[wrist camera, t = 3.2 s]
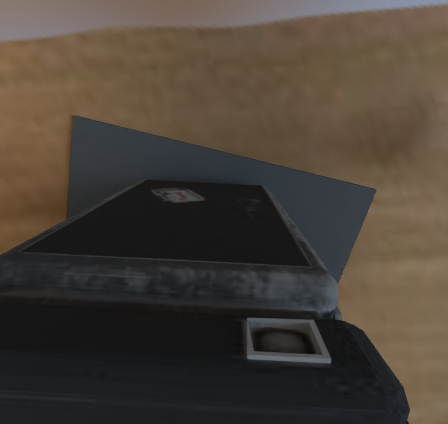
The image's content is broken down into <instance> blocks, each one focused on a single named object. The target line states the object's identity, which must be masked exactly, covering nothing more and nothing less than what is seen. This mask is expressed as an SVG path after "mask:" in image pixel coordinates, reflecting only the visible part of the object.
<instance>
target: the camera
mask: <svg viewBox="0 0 448 424" xmlns="http://www.w3.org/2000/svg"><path fill="white" fill-rule="evenodd" d="M337 299H338V284H337V282H336V281H335V279H334V277H333V276H332V275H331V273H330V272H329V270H328V269H327V268H326V266H325V265H324V263H323V262H322V261H321V259H320V258H319V257H318V255H317V254H316V252H315V251H314V250H313V248H312V247H311V246H310V244H309V243H308V241H307V240H306V239H305V237H304V236H303V234H302V233H301V232H300V230H299V229H298V228H297V226H296V225H295V223H294V222H293V221H292V219H291V218H290V217H289V215H288V214H287V212H286V211H285V210H284V208H283V207H282V206H281V204H280V203H279V201H278V200H277V199H276V197H275V196H274V194H273V193H272V192H271V190H270V189H269V188H268V186H266V185H241V184H220V183H200V182H179V181H159V180H147V179H142V180H139V181H137V182H136V183H134V184H132V185H130V186H128V187H126V188H124V189H123V190H121V191H119V192H117V193H115V194H113V195H111V196H109V197H108V198H106V199H104V200H102V201H100V202H98V203H96V204H95V205H93V206H91V207H89V208H87V209H85V210H83V211H81V212H80V213H78V214H76V215H74V216H72V217H70V218H68V219H67V220H65V221H63V222H61V223H59V224H57V225H55V226H54V227H52V228H50V229H48V230H46V231H44V232H42V233H40V234H39V235H37V236H35V237H33V238H31V239H29V240H27V241H26V242H24V243H22V244H20V245H18V246H16V247H14V248H12V249H11V250H9V251H7V252H5V253H3V254H1V255H0V424H406V422H407V419H408V415H409V411H410V408H409V405H408V401H407V398H406V395H405V391H404V388H403V386H402V385H401V383H400V382H399V380H398V379H397V378H396V376H395V375H394V373H393V372H392V371H391V369H390V368H389V366H388V365H387V364H386V362H385V361H384V359H383V358H382V357H381V355H380V354H379V352H378V351H377V350H376V348H375V347H374V345H373V344H372V343H371V341H370V340H369V338H368V337H367V336H366V334H365V333H364V331H363V330H361V329H359V328H358V327H356V326H354V325H352V324H350V323H347V322H345V321H342V314H341V312H340V310H339V309H338V307H337Z"/></svg>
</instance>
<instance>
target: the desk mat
mask: <svg viewBox="0 0 448 424" xmlns="http://www.w3.org/2000/svg"><path fill="white" fill-rule="evenodd" d="M142 179H147V180H159V181H179V182H200V183H220V184H241V185H266V186H268V188H269V189H270V190H271V192H272V193H273V194H274V196H275V197H276V199H277V200H278V201H279V203H280V204H281V206H282V207H283V208H284V210H285V211H286V212H287V214H288V215H289V217H290V218H291V219H292V221H293V222H294V223H295V225H296V226H297V228H298V229H299V230H300V232H301V233H302V234H303V236H304V237H305V239H306V240H307V241H308V243H309V244H310V246H311V247H312V248H313V250H314V251H315V252H316V254H317V255H318V257H319V258H320V259H321V261H322V262H323V263H324V265H325V266H326V268H327V269H328V270H329V272H330V273H331V275H332V276H333V277H334V279H335V281H336V282H337V284H338V282H339V280H340V277H341V275H342V272H343V270H344V267H345V265H346V263H347V260H348V258H349V255H350V253H351V251H352V248H353V246H354V243H355V241H356V238H357V236H358V234H359V231H360V229H361V226H362V224H363V222H364V219H365V217H366V214H367V212H368V209H369V207H370V205H371V202H372V200H373V197H374V195H375V193H376V190H375V189H372V188H368V187H364V186H360V185H356V184H352V183H348V182H343V181H339V180H335V179H331V178H327V177H323V176H319V175H315V174H311V173H307V172H303V171H299V170H295V169H290V168H286V167H282V166H278V165H274V164H270V163H266V162H262V161H258V160H254V159H250V158H246V157H241V156H237V155H233V154H229V153H225V152H221V151H217V150H213V149H209V148H205V147H201V146H197V145H193V144H188V143H184V142H180V141H176V140H172V139H168V138H164V137H160V136H156V135H152V134H148V133H144V132H139V131H135V130H131V129H127V128H123V127H119V126H115V125H111V124H107V123H103V122H99V121H95V120H91V119H86V118H82V117H78V116H73V130H72V145H71V159H70V174H69V189H68V203H67V218H66V220H67V219H68V218H70V217H72V216H74V215H76V214H78V213H80V212H81V211H83V210H85V209H87V208H89V207H91V206H93V205H95V204H96V203H98V202H100V201H102V200H104V199H106V198H108V197H109V196H111V195H113V194H115V193H117V192H119V191H121V190H123V189H124V188H126V187H128V186H130V185H132V184H134V183H136V182H137V181H139V180H142Z"/></svg>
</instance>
